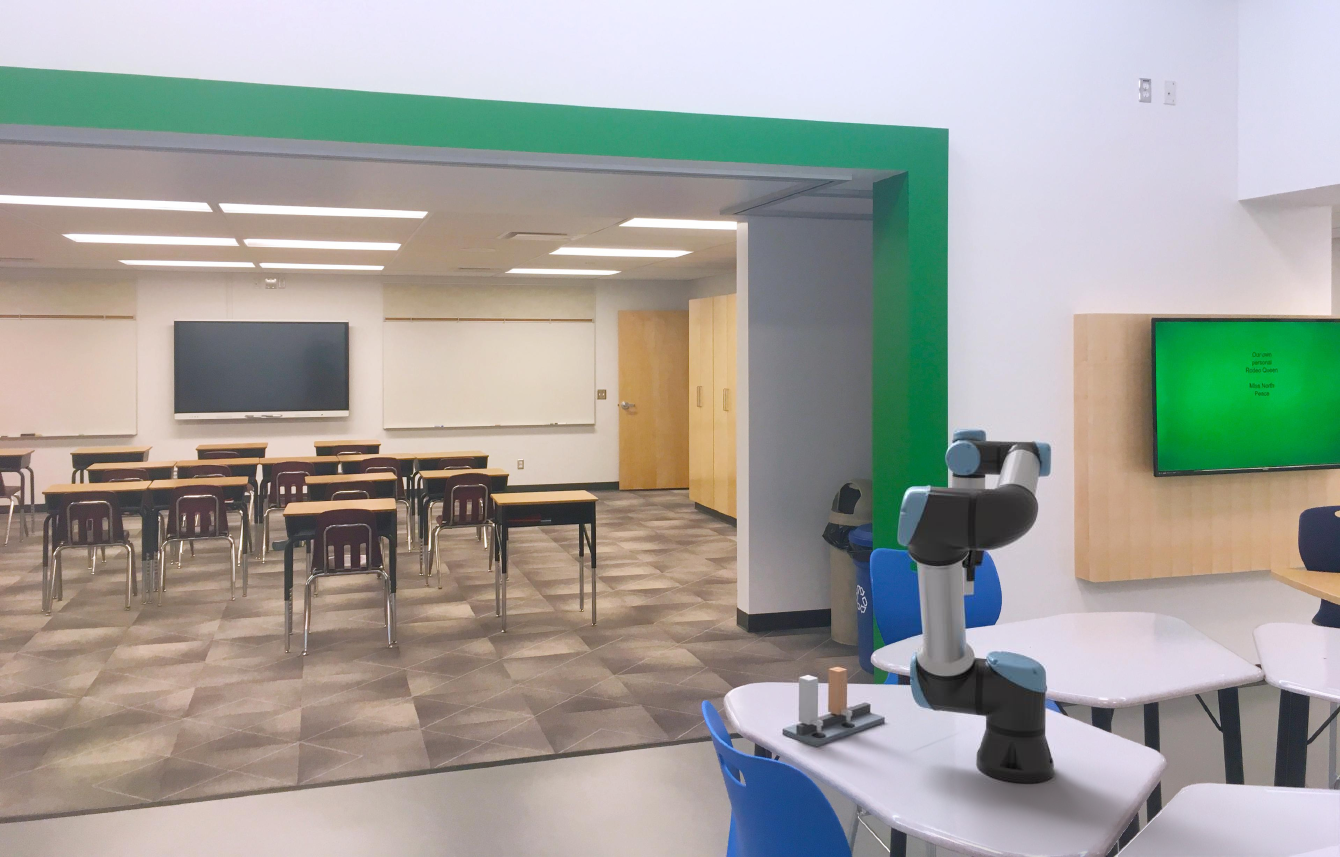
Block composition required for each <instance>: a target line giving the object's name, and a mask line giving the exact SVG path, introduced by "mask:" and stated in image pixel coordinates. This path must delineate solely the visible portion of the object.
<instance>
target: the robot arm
mask: <svg viewBox="0 0 1340 857" xmlns="http://www.w3.org/2000/svg"><path fill="white" fill-rule="evenodd" d="M951 442H952V443H951V444H950V445H949V447H948V448H947V449H946V453H945V456H944V457H945V459H944V460H945V464H946V467H947V468H948V469H949V470H950V471H951V472H952V478H951V487H948V486H947V487H943V486H941V487H940V486H931V485H929V484H928V485H926V486H925V485H924V486H923V485H922V486H921V485H920V486H916V485H915V486H914V485H913V486H911V487H909V488H907V489H906V491H905V493H904V494H903V498H902V502H901V506H900V512H899V518H898V524H897V525H898V527H897V529H898V530H897V543H898V544H899V545H900V546H902V547H907V551H908V556H909V557H910V558H911V559H912V560H913V561H914V562H915V563H916V566H917V579H918V589H919V590H918V592H919V593H918V594H919V604H920V605H919V606H920V616H921V617H920V618H921V627H922V628H921V629H922V642H923V643H922V644H921V645H919V648H918V649H917V651H916V652H914V653H913V654H912V656H911V659H910V664H909V676H910V681H909V682H910V691H911V694H912V697H913V700H914V701H915V703H916V704H917V706H919V707H920V708H923V709H928V710H932V711H936V712H949V713H956V714H966V715H973V716H981V717H985V730H984V733H983V737H982V738H981V739H982V740H981V742H980V745H979V748H978V750H977V752H976V758H975V759H976V761H975V762H976V764H975V765H976V767H977V769H978V770H979V771H981V773H983V774H985V775H987V776H989V777H991V778H994V779H998V780H1002V781H1007V782H1012V783H1017V784H1019V783H1020V784H1034V783H1042V782H1045V781H1048V780H1050V779H1052V778H1053V776H1054V771H1055V769H1054V768H1055V763H1054V759H1053V757H1052V753H1051V749H1050V747H1049V743H1048V739H1047V736H1046V723H1047V721H1046V719H1047V718H1046V711H1047V710H1046V708H1047V706H1046V705H1047V702H1046V700H1047V691H1048V686H1047V685H1048V684H1047V672H1046V669H1045V667H1044V665H1042V664H1041V663H1040V662H1038V661H1037V660H1035V659H1033V658H1031V657H1028V656H1027V655H1024V654H1020V653H1016V652H1011V651H1004V650H1003V651H998V650H995V651H991V652H988V654H986V655H987V656H986V657H985V658H981V657H976V656H975V653H974V650H973V648H972V647H971V645H969V643H967V635H966V634H967V632H966V630H967V629H966V614H965V612H966V611H965V596H969V595H970V596H972V595H974V594H975V593H974V592H975V591H974V590H975V588H974V587H975V580H976V579H975V578H976V568H977V567H981V566H982V564H983V559H984V554H985V551H987V552H988V551H993V550H998V549H1001V548H1004V547H1006V546H1009V545H1010V544H1013V543H1014V542H1016V541H1019V540H1020V539H1021V538H1022V537H1023V536H1025V535H1026V534H1027V533H1028V532H1029V531H1030V530H1031V529H1032V528H1033V526H1034V524H1035V523H1036V521H1037V517H1038V514H1039V502H1038V499H1037V498H1036V492H1037V489H1038V482H1039V478H1040V477H1041V478H1042V477H1049V475H1051V470H1052V469H1051V468H1052V467H1051V466H1052V447H1051V445H1050V444H1049V443H1047V442H1037V441H1002V440H1001V441H997V440H996V441H995V440H987V433H986V431H985V430H983V429H977V428H974V429H973V428H964V429H963V428H961V429H959V428H958V429H956V430H954V431H953V436H952V440H951ZM986 475H988V476H989V475H990V476H991V475H992V476H993V475H994V476H998V480H997V484H996V487H994V488H986V477H987V476H986Z"/></svg>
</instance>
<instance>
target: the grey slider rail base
mask: <svg viewBox="0 0 1340 857" xmlns="http://www.w3.org/2000/svg"><path fill="white" fill-rule="evenodd" d="M847 710H849V711H852V716H851V722H846V716H845V715H842V714H840V715H836V714H833V713H830V712H828V713H826V714H824V715H820V716H819V678H818V677H816V676H813V675H810V674H807V675H806V674H805V675H803V676H800V677H798V722H799V723H796V724H793V725H790V726H787V727H785V728H782V735H784V736H787V737H790V738H792V739H796V740H798V741H800V742H803V743H806V744H808V745H811V746H814V747H818V746H822V745H825V744H826V743H829V742H833V741H835V740H839V739H841V738H844V737H846V736H849V735H852V734H856V733H858V732H861V731H864V730H867V729H869V728H871V727H874V726H879V725H880V724H883V723H885V721H886V719H885V716H882V715H879V714H877V713H875V712H874V713H873V712H871V703H868V702H862V703H860V704H856V705H853V706H852V705H851V706H847Z"/></svg>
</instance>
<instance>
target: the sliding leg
mask: <svg viewBox="0 0 1340 857" xmlns="http://www.w3.org/2000/svg"><path fill="white" fill-rule="evenodd" d="M827 683H828V684H827V685H828V692H827V693H828V694H827V695H828V696H827V700H828V701H827V707H828V708H827V710H828V711H827V712H828V713H833V714H836V715H840V714H842V715H845V716H846V722H851V716H852V711H849V710H847V707H848V669H846V668H843V667H839V666H835V667H831V668H828V682H827Z"/></svg>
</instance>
